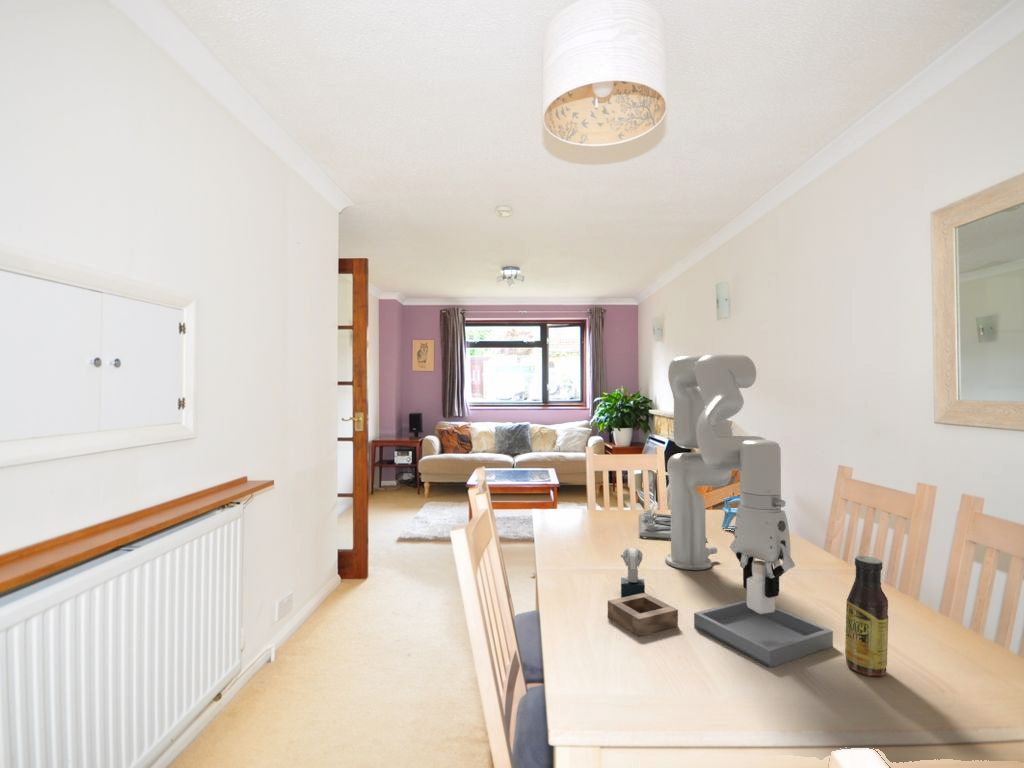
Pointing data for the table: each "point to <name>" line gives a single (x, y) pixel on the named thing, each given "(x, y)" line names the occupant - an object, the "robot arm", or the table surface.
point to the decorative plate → (655, 525)
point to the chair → (730, 512)
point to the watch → (632, 573)
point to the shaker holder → (642, 614)
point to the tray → (763, 633)
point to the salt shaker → (759, 590)
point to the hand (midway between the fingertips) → (760, 590)
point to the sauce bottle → (867, 620)
